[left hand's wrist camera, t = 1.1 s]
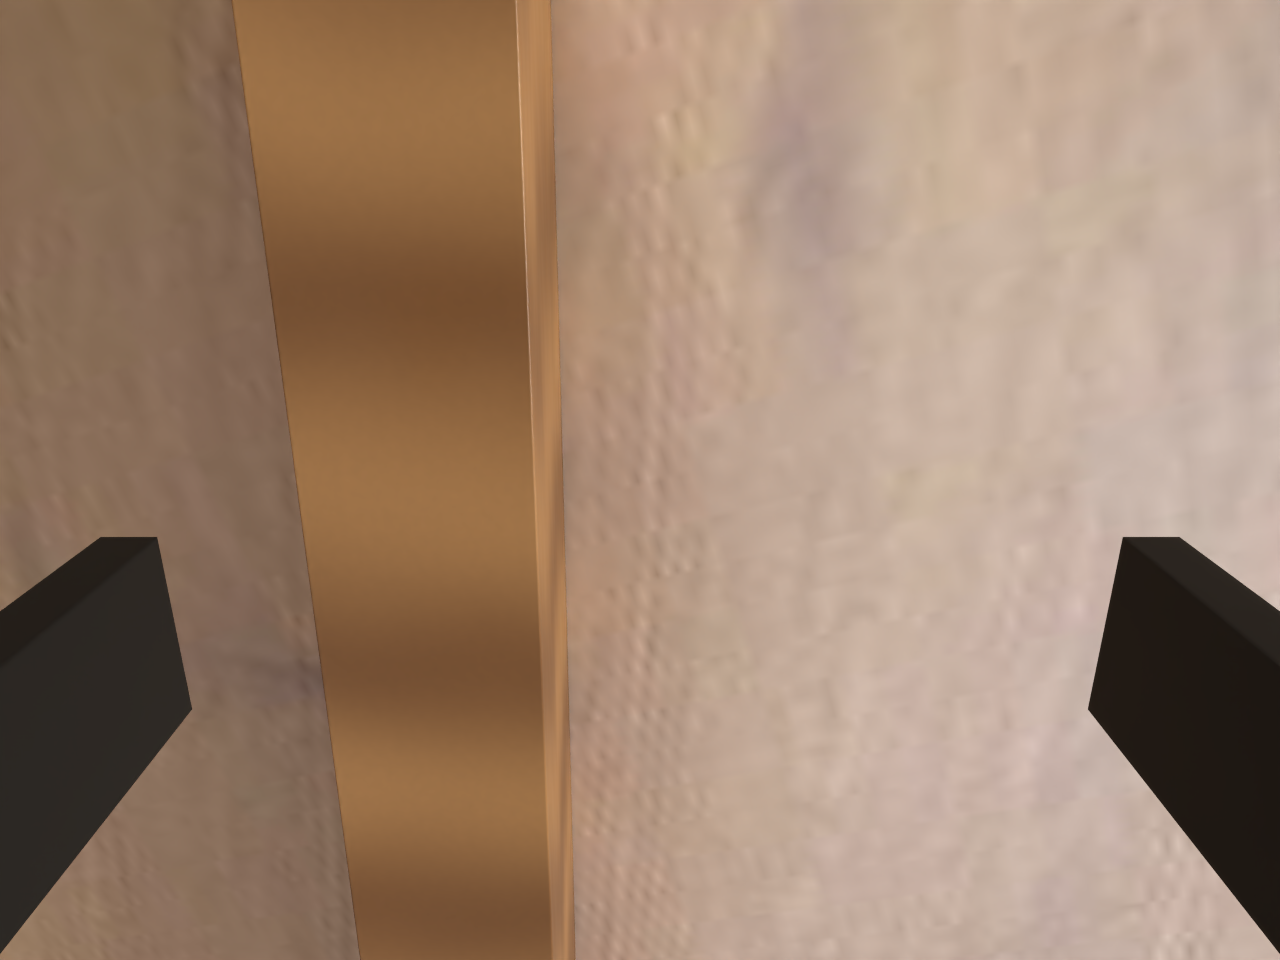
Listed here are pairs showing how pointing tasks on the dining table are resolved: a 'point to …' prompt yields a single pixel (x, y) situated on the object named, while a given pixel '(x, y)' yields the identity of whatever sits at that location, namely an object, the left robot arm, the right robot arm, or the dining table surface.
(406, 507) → the bar
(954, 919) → the dining table surface
